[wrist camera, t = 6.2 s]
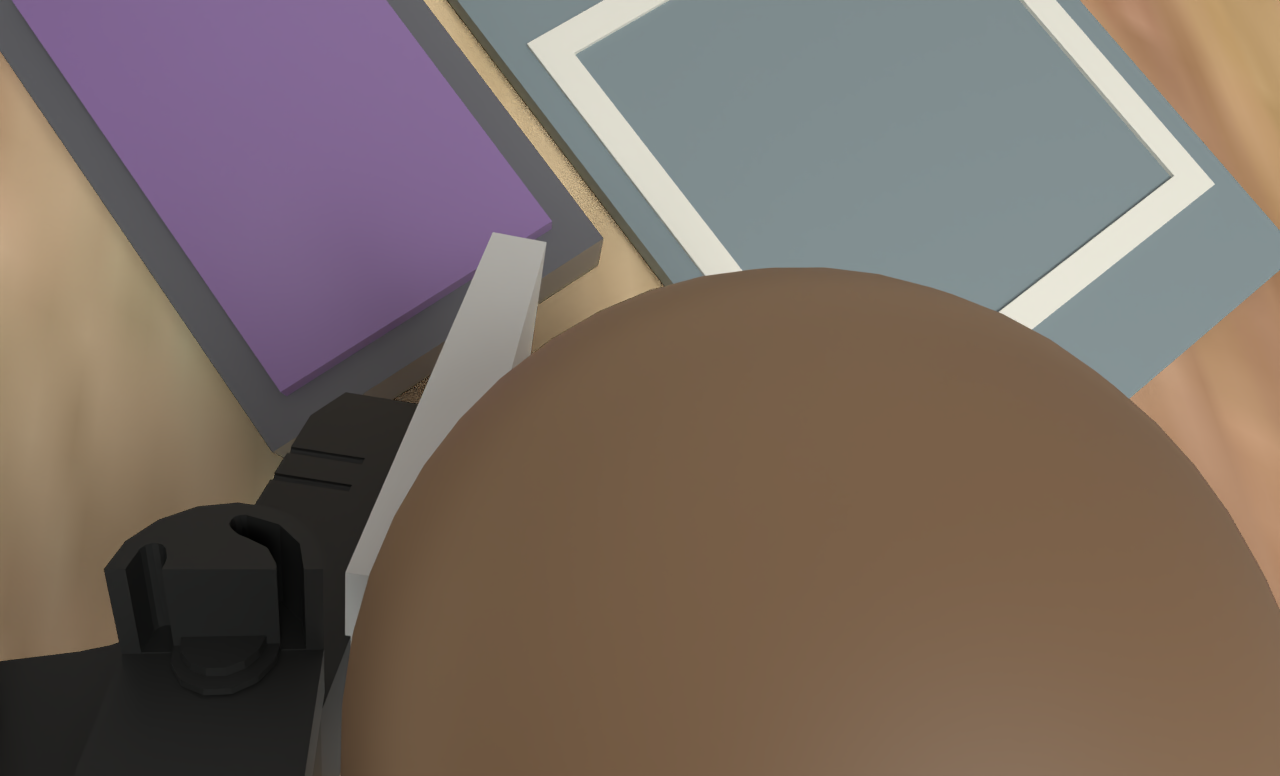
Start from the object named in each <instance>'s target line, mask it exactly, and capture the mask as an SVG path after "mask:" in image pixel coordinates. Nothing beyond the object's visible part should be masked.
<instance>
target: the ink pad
mask: <svg viewBox="0 0 1280 776" xmlns="http://www.w3.org/2000/svg"><path fill="white" fill-rule="evenodd" d="M0 51H1V53H2V54H3V56H4V57H5V59H6V60H7V62H8V63H9V65H10V66H11V68H12V69H13V71H14V72H15V74H16V75H17V77H18V78H19V79H20V81H21V82H22V84H23V85H24V87H25V88H26V90H27V91H28V93H29V94H30V96H31V97H32V99H33V100H34V102H35V103H36V105H37V106H38V107H39V109H40V110H41V112H42V113H43V115H44V116H45V118H46V119H47V121H48V122H49V124H50V125H51V127H52V128H53V130H54V131H55V133H56V134H57V135H58V137H59V138H60V140H61V141H62V143H63V144H64V146H65V147H66V149H67V150H68V152H69V153H70V155H71V156H72V158H73V159H74V161H75V162H76V164H77V165H78V166H79V168H80V169H81V171H82V172H83V174H84V175H85V177H86V178H87V180H88V181H89V183H90V184H91V186H92V187H93V189H94V190H95V192H96V193H97V194H98V196H99V197H100V199H101V200H102V202H103V203H104V205H105V206H106V208H107V209H108V211H109V212H110V214H111V215H112V217H113V218H114V220H115V221H116V223H117V224H118V225H119V227H120V228H121V230H122V231H123V233H124V234H125V236H126V237H127V239H128V240H129V242H130V243H131V245H132V246H133V248H134V249H135V251H136V252H137V253H138V255H139V256H140V258H141V259H142V261H143V262H144V264H145V265H146V267H147V268H148V270H149V271H150V273H151V274H152V276H153V277H154V279H155V280H156V281H157V283H158V284H159V286H160V287H161V289H162V290H163V292H164V293H165V295H166V296H167V298H168V299H169V301H170V302H171V304H172V305H173V307H174V308H175V310H176V311H177V312H178V314H179V315H180V317H181V318H182V320H183V321H184V323H185V324H186V326H187V327H188V329H189V330H190V332H191V333H192V335H193V336H194V338H195V339H196V340H197V342H198V343H199V345H200V346H201V348H202V349H203V351H204V352H205V354H206V355H207V357H208V358H209V360H210V361H211V363H212V364H213V366H214V367H215V368H216V370H217V371H218V373H219V374H220V376H221V377H222V379H223V380H224V382H225V383H226V385H227V386H228V388H229V389H230V391H231V392H232V394H233V395H234V397H235V398H236V399H237V401H238V402H239V404H240V405H241V407H242V408H243V410H244V411H245V413H246V414H247V416H248V417H249V419H250V420H251V422H252V423H253V425H254V426H255V427H256V429H257V430H258V432H259V433H260V435H261V436H262V438H263V439H264V441H265V442H266V444H267V445H268V447H269V448H270V450H271V451H272V452H273V453H275V454H277V455H279V456H281V457H283V458H284V457H285V455H286V454H287V453H290V450H291V446H292V444H293V443H294V441H295V439H296V438H297V436H298V434H299V433H300V431H301V430H302V428H303V426H304V425H305V423H306V422H307V420H308V418H309V417H310V415H312V414H313V413H315V412H316V411H318V410H319V409H321V408H322V407H324V406H325V405H327V404H328V403H330V402H331V401H333V400H335V399H336V398H338V397H339V396H341V395H342V394H344V393H345V392H348V393H354V394H360V395H366V396H372V397H379V398H385V399H391V400H393V399H394V398H396V397H397V396H399V395H400V394H402V393H404V392H405V391H407V390H408V389H410V388H411V387H413V386H414V385H416V384H417V383H419V382H420V381H422V380H423V379H425V378H426V377H428V376H430V375H431V374H432V371H433V369H434V367H435V364H436V362H437V360H438V357H439V355H440V353H441V350H442V348H443V346H444V344H445V341H446V339H447V337H448V334H449V332H450V330H451V327H452V325H453V323H454V320H455V318H456V316H457V314H458V311H459V309H460V307H461V304H462V302H463V300H464V297H465V295H466V293H467V290H468V288H469V286H470V284H471V281H472V279H473V277H474V274H475V272H476V270H477V267H478V265H479V263H480V260H481V258H482V256H483V253H484V251H485V249H486V247H487V244H488V242H489V240H490V237H491V235H492V233H493V232H495V233H500V234H506V235H511V236H516V237H522V238H527V239H532V240H538V241H543V242H547V243H546V250H545V257H544V264H543V271H542V278H541V285H540V292H539V299H538V304H540V303H541V302H543V301H544V300H546V299H547V298H549V297H550V296H552V295H553V294H555V293H556V292H558V291H560V290H561V289H563V288H564V287H566V286H567V285H569V284H570V283H572V282H573V281H575V280H576V279H578V278H579V277H581V276H582V275H584V274H586V273H587V272H589V271H590V270H592V269H593V268H595V267H596V266H598V263H599V258H600V253H601V248H602V243H603V237H602V236H601V235H600V233H599V232H598V231H597V229H596V228H595V227H594V225H593V224H592V223H591V221H590V220H589V219H588V217H587V216H586V215H585V214H584V212H583V211H582V210H581V208H580V207H579V206H578V204H577V203H576V202H575V200H574V199H573V198H572V196H571V195H570V194H569V192H568V191H567V190H566V188H565V187H564V186H563V184H562V183H561V182H560V180H559V179H558V178H557V176H556V175H555V174H554V173H553V171H552V170H551V169H550V167H549V166H548V165H547V163H546V162H545V161H544V159H543V158H542V157H541V155H540V154H539V153H538V151H537V150H536V149H535V147H534V146H533V145H532V143H531V142H530V141H529V139H528V138H527V137H526V136H525V134H524V133H523V132H522V130H521V129H520V128H519V126H518V125H517V124H516V122H515V121H514V120H513V118H512V117H511V116H510V114H509V113H508V112H507V110H506V109H505V108H504V106H503V105H502V104H501V102H500V101H499V100H498V98H497V97H496V96H495V95H494V93H493V92H492V91H491V89H490V88H489V87H488V85H487V84H486V83H485V81H484V80H483V79H482V77H481V76H480V75H479V73H478V72H477V71H476V69H475V68H474V67H473V65H472V64H471V63H470V61H469V60H468V59H467V57H466V56H465V55H464V54H463V52H462V51H461V50H460V48H459V47H458V46H457V44H456V43H455V42H454V40H453V39H452V38H451V36H450V35H449V34H448V32H447V31H446V30H445V28H444V27H443V26H442V24H441V23H440V22H439V20H438V19H437V18H436V16H435V15H434V14H433V13H432V11H431V10H430V9H429V7H428V6H427V5H426V3H425V2H424V1H423V0H0Z"/></svg>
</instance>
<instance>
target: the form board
mask: <svg viewBox="0 0 1280 776" xmlns="http://www.w3.org/2000/svg"><path fill="white" fill-rule="evenodd" d="M447 1H448V2H449V3H450V5H451V6H452V7H453V9H454V10H455V11H456V13H457V14H458V15H459V17H460V18H461V19H462V20H463V22H464V23H465V24H466V26H467V27H468V28H469V30H470V31H471V32H472V34H473V35H474V36H475V38H476V39H477V40H478V41H479V43H480V44H481V45H482V47H483V48H484V49H485V51H486V52H487V53H488V55H489V56H490V57H491V59H492V60H493V61H494V63H495V64H496V65H497V66H498V68H499V69H500V70H501V72H502V73H503V74H504V76H505V77H506V78H507V80H508V81H509V82H510V84H511V85H512V86H513V88H514V89H515V90H516V91H517V93H518V94H519V95H520V97H521V98H522V99H523V101H524V102H525V103H526V105H527V106H528V107H529V109H530V110H531V111H532V113H533V114H534V115H535V116H536V118H537V119H538V120H539V122H540V123H541V124H542V126H543V127H544V128H545V130H546V131H547V132H548V134H549V135H550V136H551V138H552V139H553V140H554V141H555V143H556V144H557V145H558V147H559V148H560V149H561V151H562V152H563V153H564V155H565V156H566V157H567V159H568V160H569V161H570V162H571V164H572V165H573V166H574V168H575V169H576V170H577V172H578V173H579V174H580V176H581V177H582V178H583V180H584V181H585V182H586V184H587V185H588V186H589V187H590V189H591V190H592V191H593V193H594V194H595V195H596V197H597V198H598V199H599V201H600V202H601V203H602V205H603V206H604V207H605V209H606V210H607V211H608V212H609V214H610V215H611V216H612V218H613V219H614V220H615V222H616V223H617V224H618V226H619V227H620V228H621V230H622V231H623V232H624V234H625V235H626V236H627V237H628V239H629V240H630V241H631V243H632V244H633V245H634V247H635V248H636V249H637V251H638V252H639V253H640V255H641V256H642V257H643V258H644V260H645V261H646V262H647V264H648V265H649V266H650V268H651V269H652V270H653V272H654V273H655V274H656V276H657V277H658V278H659V280H660V281H661V282H662V283H663V285H664V286H667V285H671V284H675V283H678V282H682V281H686V280H690V279H693V278H697V277H701V276H707V275H714V274H722V273H729V272H737V271H744V270H752V269H762V268H809V267H826V268H834V269H842V270H850V271H858V272H866V273H874V274H881V275H884V276H888V277H892V278H896V279H900V280H904V281H908V282H912V283H916V284H920V285H924V286H928V287H931V288H935V289H938V290H941V291H944V292H947V293H950V294H953V295H956V296H958V297H961V298H963V299H966V300H968V301H971V302H974V303H976V304H979V305H981V306H984V307H986V308H989V309H992V310H994V311H997V312H999V313H1002V314H1004V315H1006V316H1008V317H1009V318H1011V319H1013V320H1015V321H1017V322H1019V323H1021V324H1022V325H1024V326H1026V327H1028V328H1030V329H1032V330H1034V331H1035V332H1037V333H1039V334H1041V335H1043V336H1045V337H1047V338H1049V339H1050V340H1052V341H1053V342H1055V343H1056V344H1058V345H1059V346H1060V347H1062V348H1063V349H1065V350H1066V351H1068V352H1069V353H1070V354H1072V355H1073V356H1075V357H1076V358H1078V359H1079V360H1080V361H1082V362H1083V363H1085V364H1086V365H1088V366H1089V367H1091V368H1092V369H1093V370H1095V371H1096V372H1097V373H1099V374H1100V375H1101V376H1102V377H1104V378H1105V379H1106V380H1108V381H1109V382H1110V383H1111V384H1113V385H1114V386H1115V387H1116V388H1117V389H1119V390H1120V391H1121V392H1122V393H1123V394H1124V395H1125V396H1126V397H1128V398H1131V397H1132V396H1133V395H1134V394H1135V393H1136V392H1138V391H1139V390H1140V389H1141V388H1142V387H1143V386H1145V385H1146V384H1147V383H1148V382H1149V381H1150V380H1152V379H1153V378H1154V377H1155V376H1156V375H1157V374H1159V373H1160V372H1161V371H1162V370H1163V369H1164V368H1166V367H1167V366H1168V365H1169V364H1170V363H1171V362H1173V361H1174V360H1175V359H1176V358H1177V357H1178V356H1180V355H1181V354H1182V353H1183V352H1184V351H1185V350H1187V349H1188V348H1189V347H1190V346H1191V345H1193V344H1194V343H1195V342H1196V341H1197V340H1198V339H1200V338H1201V337H1202V336H1203V335H1204V334H1205V333H1207V332H1208V331H1209V330H1210V329H1211V328H1212V327H1214V326H1215V325H1216V324H1217V323H1218V322H1219V321H1221V320H1222V319H1223V318H1224V317H1225V316H1226V315H1228V314H1229V313H1230V312H1231V311H1232V310H1233V309H1235V308H1236V307H1237V306H1238V305H1239V304H1240V303H1242V302H1243V301H1244V300H1245V299H1246V298H1247V297H1249V296H1250V295H1251V294H1252V293H1253V292H1254V291H1256V290H1257V289H1258V288H1259V287H1260V286H1262V285H1263V284H1264V283H1265V282H1266V281H1267V280H1269V279H1270V278H1271V277H1272V276H1273V275H1274V274H1276V273H1277V272H1278V271H1279V270H1280V230H1279V229H1278V228H1277V227H1276V226H1275V225H1274V224H1273V222H1272V221H1271V220H1270V219H1269V218H1268V217H1267V215H1266V214H1265V213H1264V212H1263V211H1262V210H1261V209H1260V207H1259V206H1258V205H1257V204H1256V203H1255V202H1254V201H1253V199H1252V198H1251V197H1250V196H1249V195H1248V194H1247V192H1246V191H1245V190H1244V189H1243V188H1242V187H1241V186H1240V184H1239V183H1238V182H1237V181H1236V180H1235V179H1234V177H1233V176H1232V175H1231V174H1230V173H1229V172H1228V171H1227V169H1226V168H1225V167H1224V166H1223V165H1222V164H1221V163H1220V161H1219V160H1218V159H1217V158H1216V157H1215V156H1214V154H1213V153H1212V152H1211V151H1210V150H1209V149H1208V148H1207V146H1206V145H1205V144H1204V143H1203V142H1202V141H1201V139H1200V138H1199V137H1198V136H1197V135H1196V134H1195V133H1194V131H1193V130H1192V129H1191V128H1190V127H1189V126H1188V125H1187V123H1186V122H1185V121H1184V120H1183V119H1182V118H1181V116H1180V115H1179V114H1178V113H1177V112H1176V111H1175V110H1174V108H1173V107H1172V106H1171V105H1170V104H1169V103H1168V101H1167V100H1166V99H1165V98H1164V97H1163V96H1162V95H1161V93H1160V92H1159V91H1158V90H1157V89H1156V88H1155V87H1154V85H1153V84H1152V83H1151V82H1150V81H1149V80H1148V78H1147V77H1146V76H1145V75H1144V74H1143V73H1142V72H1141V70H1140V69H1139V68H1138V67H1137V66H1136V65H1135V63H1134V62H1133V61H1132V60H1131V59H1130V58H1129V57H1128V55H1127V54H1126V53H1125V52H1124V51H1123V50H1122V49H1121V47H1120V46H1119V45H1118V44H1117V43H1116V42H1115V40H1114V39H1113V38H1112V37H1111V36H1110V35H1109V34H1108V32H1107V31H1106V30H1105V29H1104V28H1103V27H1102V25H1101V24H1100V23H1099V22H1098V21H1097V20H1096V19H1095V17H1094V16H1093V15H1092V14H1091V13H1090V12H1089V11H1088V9H1087V8H1086V7H1085V6H1084V5H1083V4H1082V2H1081V1H1080V0H447Z"/></svg>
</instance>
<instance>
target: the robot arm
mask: <svg viewBox="0 0 1280 776" xmlns="http://www.w3.org/2000/svg"><path fill="white" fill-rule="evenodd" d="M546 243H547V242H543V241H538V240H532V239H527V238H522V237H516V236H511V235H506V234H500V233H495V232H493V233H492V235H491V237H490V240H489V242H488V244H487V247H486V249H485V251H484V253H483V256H482V258H481V260H480V263H479V265H478V267H477V270H476V272H475V274H474V277H473V279H472V281H471V284H470V286H469V288H468V290H467V293H466V295H465V297H464V300H463V302H462V304H461V307H460V309H459V311H458V314H457V316H456V318H455V320H454V323H453V325H452V327H451V330H450V332H449V334H448V337H447V339H446V341H445V344H444V346H443V348H442V350H441V353H440V355H439V357H438V360H437V362H436V364H435V367H434V369H433V371H432V374H431V376H430V378H429V380H428V383H427V385H426V387H425V390H424V392H423V394H422V397H421V399H420V401H419V404H415V403H409V402H403V401H397V400H391V399H385V398H379V397H372V396H366V395H360V394H354V393H348V392H345V393H344V394H342V395H341V396H339V397H338V398H336V399H335V400H333V401H331V402H330V403H328V404H327V405H325V406H324V407H322V408H321V409H319V410H318V411H316V412H315V413H313V414H312V415H310V417H309V418H308V420H307V422H306V423H305V425H304V426H303V428H302V430H301V431H300V433H299V434H298V436H297V438H296V439H295V441H294V443H293V444H292V446H291V450H290V453H287V454H286V455H285V457H284V459H283V460H282V462H281V463H280V465H279V467H278V468H277V470H276V472H275V475H274V479H273V480H270V481H269V483H268V484H267V486H266V488H265V489H264V491H263V492H262V494H261V496H260V497H259V499H258V500H257V502H256V504H255V505H251V504H244V503H229V504H218V505H208V506H198V507H195V508H192V509H189V510H186V511H183V512H180V513H177V514H174V515H171V516H168V517H165V518H162V519H159V520H157V521H156V522H154V523H153V524H151V525H150V526H148V527H147V528H145V529H144V530H142V531H140V532H139V533H137V534H136V535H134V536H133V537H131V538H130V539H128V540H127V541H125V542H124V544H123V545H122V546H121V548H120V549H119V550H118V552H117V553H116V554H115V555H114V557H113V558H112V559H111V561H110V562H109V563H108V565H107V566H106V567H105V568H104V572H105V577H106V582H107V586H108V591H109V596H110V601H111V605H112V610H113V615H114V620H115V625H116V629H117V634H118V639H119V643H116V644H113V645H110V646H105V647H100V648H95V649H90V650H85V651H80V652H73V653H64V654H56V655H48V656H40V657H32V658H24V659H15V660H7V661H0V776H340V772H341V726H342V703H343V695H344V688H345V681H346V675H347V668H348V661H349V655H350V648H351V641H352V635H353V631H354V627H355V624H356V620H357V617H358V613H359V610H360V606H361V603H362V599H363V596H364V592H365V589H366V585H367V581H368V578H369V574H370V572H371V569H372V567H373V565H374V562H375V560H376V558H377V555H378V553H379V551H380V548H381V546H382V544H383V541H384V539H385V536H386V534H387V532H388V529H389V527H390V525H391V522H392V520H393V518H394V516H395V514H396V512H397V511H398V509H399V507H400V505H401V504H402V502H403V500H404V499H405V497H406V495H407V493H408V492H409V490H410V488H411V487H412V485H413V483H414V482H415V480H416V478H417V476H418V475H419V473H420V471H421V470H422V468H423V466H424V465H425V463H426V462H427V461H428V459H429V458H430V457H431V455H432V454H433V453H434V452H435V450H436V449H437V448H438V446H439V445H440V444H441V442H442V441H443V440H444V439H445V437H446V436H447V435H448V433H449V432H450V431H451V430H452V428H453V427H454V426H455V424H456V423H457V422H458V420H459V419H460V418H461V417H462V416H463V415H464V414H465V413H466V412H467V411H468V410H469V409H470V408H471V407H472V406H473V405H474V404H475V403H476V402H477V401H478V400H479V399H480V398H481V397H482V396H483V395H484V394H485V393H486V392H487V391H488V390H489V389H490V388H491V387H492V386H493V385H494V384H495V383H496V382H497V381H498V380H499V379H500V378H501V377H503V376H504V375H505V374H507V373H508V372H509V371H510V370H512V369H513V368H514V367H516V366H517V365H518V364H520V363H521V362H522V361H523V360H525V359H526V358H527V357H529V356H530V355H531V348H532V341H533V334H534V327H535V320H536V313H537V306H538V299H539V292H540V285H541V278H542V271H543V264H544V257H545V250H546Z"/></svg>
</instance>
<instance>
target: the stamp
mask: <svg viewBox="0 0 1280 776" xmlns="http://www.w3.org/2000/svg"><path fill="white" fill-rule="evenodd" d="M340 776H1280V610H1279V607H1278V605H1277V603H1276V600H1275V598H1274V596H1273V594H1272V591H1271V589H1270V587H1269V584H1268V582H1267V580H1266V578H1265V576H1264V574H1263V572H1262V570H1261V569H1260V567H1259V565H1258V563H1257V561H1256V559H1255V558H1254V556H1253V554H1252V552H1251V551H1250V549H1249V547H1248V545H1247V544H1246V542H1245V540H1244V538H1243V537H1242V535H1241V533H1240V531H1239V530H1238V528H1237V526H1236V524H1235V523H1234V521H1233V519H1232V517H1231V516H1230V514H1229V512H1228V511H1227V509H1226V508H1225V506H1224V505H1223V504H1222V502H1221V501H1220V500H1219V498H1218V497H1217V495H1216V494H1215V493H1214V491H1213V490H1212V488H1211V487H1210V486H1209V484H1208V483H1207V482H1206V480H1205V479H1204V477H1203V476H1202V475H1201V473H1200V472H1199V471H1198V469H1197V468H1196V466H1195V465H1194V464H1193V463H1192V462H1191V461H1190V459H1189V458H1188V457H1187V456H1186V455H1185V454H1184V453H1183V452H1182V451H1181V450H1180V448H1179V447H1178V446H1177V445H1176V444H1175V443H1174V442H1173V441H1172V440H1171V438H1170V437H1169V436H1168V435H1167V434H1166V433H1165V432H1164V431H1163V430H1162V429H1161V427H1160V426H1159V425H1158V424H1157V423H1156V422H1155V421H1154V420H1152V419H1151V418H1150V417H1149V416H1148V415H1147V414H1146V413H1145V412H1143V411H1142V410H1141V409H1140V408H1139V407H1138V406H1137V405H1135V404H1134V403H1133V402H1132V401H1131V400H1130V399H1129V398H1128V397H1126V396H1125V395H1124V394H1123V393H1122V392H1121V391H1120V390H1119V389H1117V388H1116V387H1115V386H1114V385H1113V384H1111V383H1110V382H1109V381H1108V380H1106V379H1105V378H1104V377H1102V376H1101V375H1100V374H1099V373H1097V372H1096V371H1095V370H1093V369H1092V368H1091V367H1089V366H1088V365H1086V364H1085V363H1083V362H1082V361H1080V360H1079V359H1078V358H1076V357H1075V356H1073V355H1072V354H1070V353H1069V352H1068V351H1066V350H1065V349H1063V348H1062V347H1060V346H1059V345H1058V344H1056V343H1055V342H1053V341H1052V340H1050V339H1049V338H1047V337H1045V336H1043V335H1041V334H1039V333H1037V332H1035V331H1034V330H1032V329H1030V328H1028V327H1026V326H1024V325H1022V324H1021V323H1019V322H1017V321H1015V320H1013V319H1011V318H1009V317H1008V316H1006V315H1004V314H1002V313H999V312H997V311H994V310H992V309H989V308H986V307H984V306H981V305H979V304H976V303H974V302H971V301H968V300H966V299H963V298H961V297H958V296H956V295H953V294H950V293H947V292H944V291H941V290H938V289H935V288H931V287H928V286H924V285H920V284H916V283H912V282H908V281H904V280H900V279H896V278H892V277H888V276H884V275H881V274H874V273H866V272H858V271H850V270H842V269H834V268H826V267H809V268H762V269H752V270H744V271H737V272H729V273H722V274H714V275H707V276H701V277H697V278H693V279H690V280H686V281H682V282H678V283H675V284H671V285H667V286H664V287H660V288H656V289H652V290H649V291H647V292H644V293H642V294H640V295H637V296H635V297H632V298H630V299H628V300H625V301H623V302H620V303H618V304H616V305H613V306H611V307H608V308H606V309H604V310H601V311H599V312H597V313H596V314H594V315H592V316H590V317H589V318H587V319H585V320H583V321H582V322H580V323H578V324H577V325H575V326H573V327H571V328H570V329H568V330H566V331H564V332H563V333H561V334H559V335H558V336H556V337H554V338H552V339H551V340H549V341H548V342H547V343H546V344H544V345H543V346H542V347H540V348H539V349H538V350H536V351H535V352H534V353H533V354H531V355H530V356H529V357H527V358H526V359H525V360H523V361H522V362H521V363H520V364H518V365H517V366H516V367H514V368H513V369H512V370H510V371H509V372H508V373H507V374H505V375H504V376H503V377H501V378H500V379H499V380H498V381H497V382H496V383H495V384H494V385H493V386H492V387H491V388H490V389H489V390H488V391H487V392H486V393H485V394H484V395H483V396H482V397H481V398H480V399H479V400H478V401H477V402H476V403H475V404H474V405H473V406H472V407H471V408H470V409H469V410H468V411H467V412H466V413H465V414H464V415H463V416H462V417H461V418H460V419H459V420H458V422H457V423H456V424H455V426H454V427H453V428H452V430H451V431H450V432H449V433H448V435H447V436H446V437H445V439H444V440H443V441H442V442H441V444H440V445H439V446H438V448H437V449H436V450H435V452H434V453H433V454H432V455H431V457H430V458H429V459H428V461H427V462H426V463H425V465H424V466H423V468H422V470H421V471H420V473H419V475H418V476H417V478H416V480H415V482H414V483H413V485H412V487H411V488H410V490H409V492H408V493H407V495H406V497H405V499H404V500H403V502H402V504H401V505H400V507H399V509H398V511H397V512H396V514H395V516H394V518H393V520H392V522H391V525H390V527H389V529H388V532H387V534H386V536H385V539H384V541H383V544H382V546H381V548H380V551H379V553H378V555H377V558H376V560H375V562H374V565H373V567H372V569H371V572H370V574H369V578H368V581H367V585H366V589H365V592H364V596H363V599H362V603H361V606H360V610H359V613H358V617H357V620H356V624H355V627H354V631H353V635H352V641H351V648H350V655H349V661H348V668H347V675H346V681H345V688H344V695H343V703H342V726H341V772H340Z"/></svg>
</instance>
